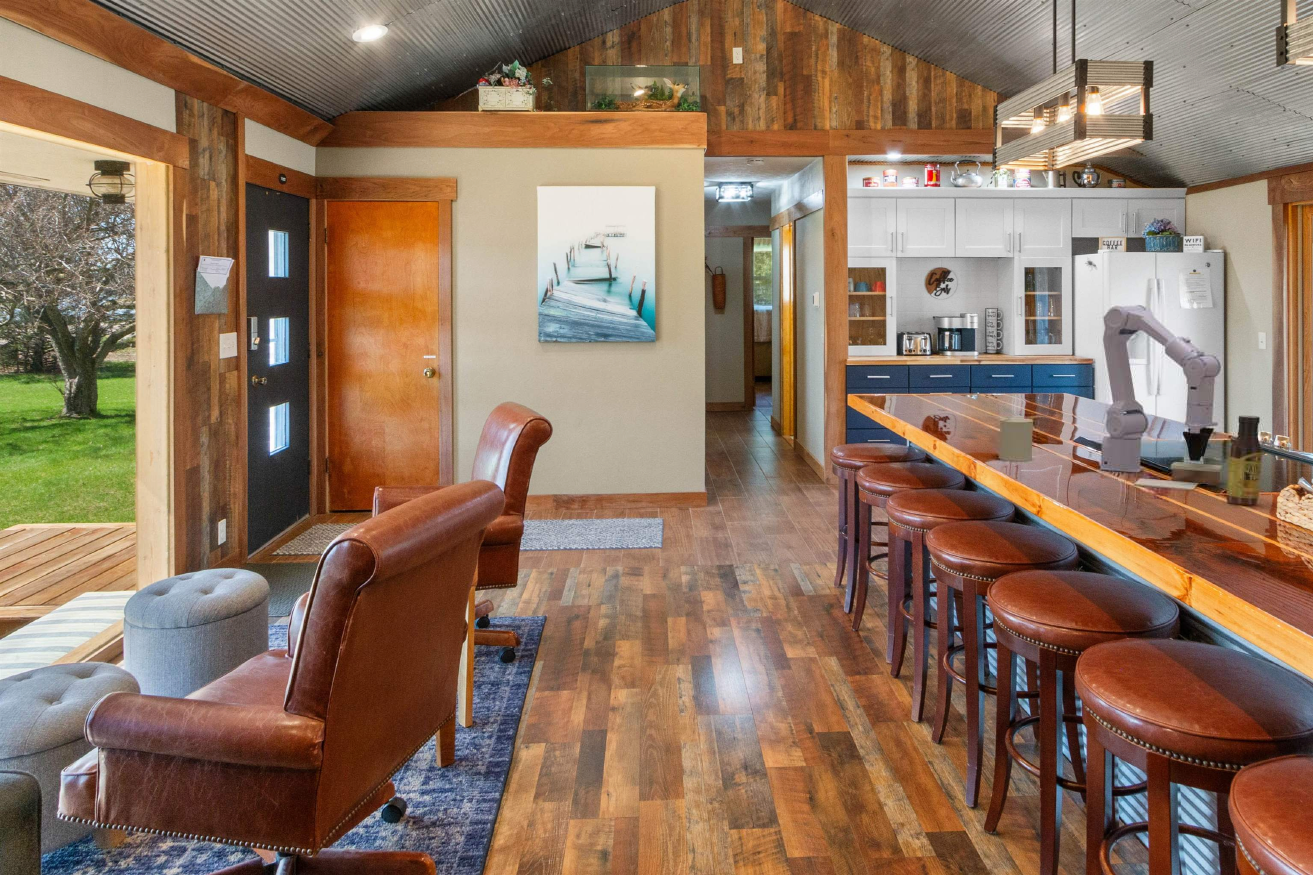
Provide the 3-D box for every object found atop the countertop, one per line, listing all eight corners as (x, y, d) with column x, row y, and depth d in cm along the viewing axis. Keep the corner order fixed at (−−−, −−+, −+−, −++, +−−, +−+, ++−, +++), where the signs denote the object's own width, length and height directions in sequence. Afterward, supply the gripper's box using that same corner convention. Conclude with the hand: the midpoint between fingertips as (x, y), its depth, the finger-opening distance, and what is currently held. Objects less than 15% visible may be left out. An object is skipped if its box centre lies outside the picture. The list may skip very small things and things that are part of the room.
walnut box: (1171, 481, 241) (1172, 468, 241) (1174, 478, 245) (1175, 465, 245) (1216, 485, 235) (1217, 471, 235) (1219, 482, 239) (1220, 468, 239)
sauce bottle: (1245, 507, 211) (1251, 418, 209) (1219, 502, 217) (1224, 415, 214) (1265, 504, 214) (1271, 416, 211) (1238, 499, 220) (1244, 413, 217)
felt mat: (1133, 485, 238) (1133, 483, 238) (1140, 479, 245) (1140, 478, 245) (1193, 490, 230) (1193, 489, 230) (1198, 484, 237) (1198, 483, 237)
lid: (1170, 470, 241) (1170, 465, 240) (1173, 466, 245) (1174, 461, 245) (1218, 474, 234) (1219, 468, 234) (1221, 470, 239) (1221, 465, 239)
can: (995, 456, 284) (996, 416, 283) (1027, 456, 284) (1028, 416, 282) (1003, 461, 275) (1004, 420, 274) (1036, 461, 274) (1037, 420, 273)
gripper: (1214, 408, 229) (1211, 463, 231) (1221, 402, 241) (1218, 455, 243) (1181, 406, 233) (1178, 461, 235) (1190, 401, 245) (1187, 453, 247)
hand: (1196, 458), depth 239 cm, fingers open, 7 cm apart
